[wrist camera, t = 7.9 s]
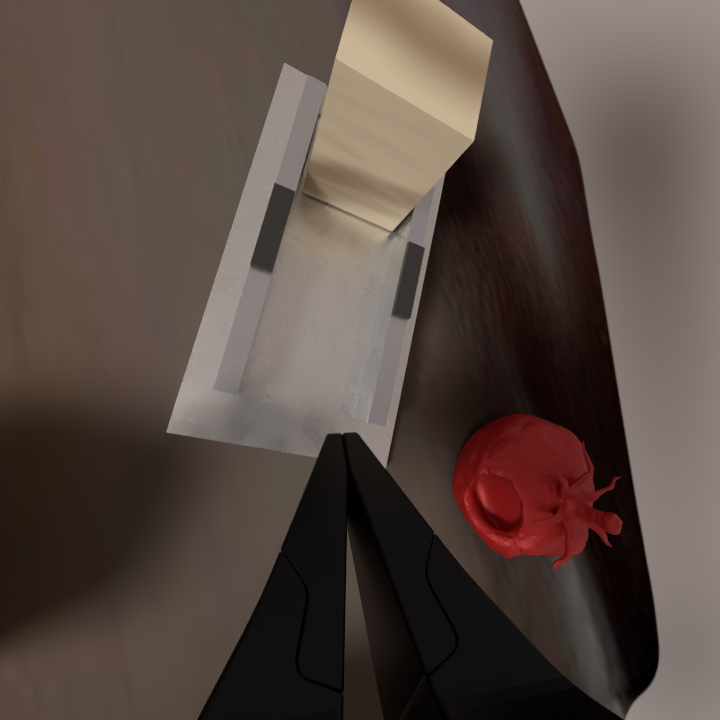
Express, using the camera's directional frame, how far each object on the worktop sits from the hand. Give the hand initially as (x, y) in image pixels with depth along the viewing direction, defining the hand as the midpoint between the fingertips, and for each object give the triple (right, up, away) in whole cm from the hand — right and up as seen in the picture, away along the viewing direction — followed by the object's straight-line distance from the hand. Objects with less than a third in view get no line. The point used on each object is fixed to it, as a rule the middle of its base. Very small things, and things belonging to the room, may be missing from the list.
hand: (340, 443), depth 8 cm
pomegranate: (+11, -7, +17) cm, 21 cm away
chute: (-1, +9, +13) cm, 16 cm away
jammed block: (0, +16, +14) cm, 21 cm away
